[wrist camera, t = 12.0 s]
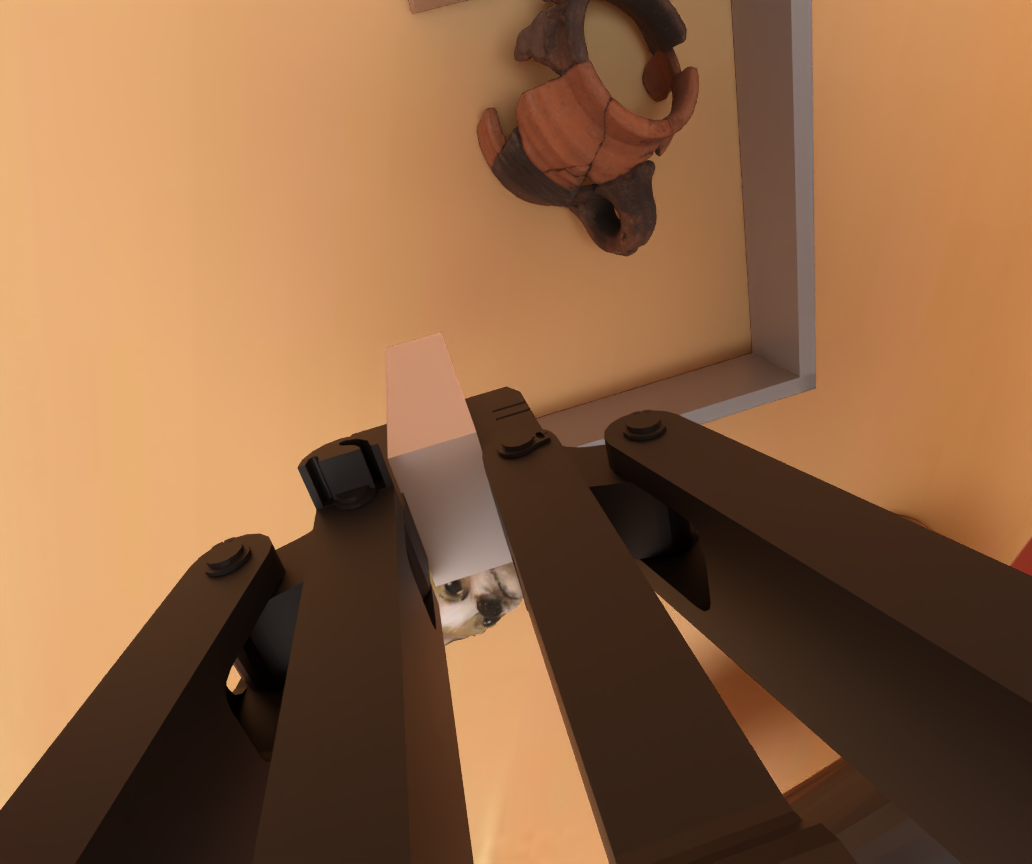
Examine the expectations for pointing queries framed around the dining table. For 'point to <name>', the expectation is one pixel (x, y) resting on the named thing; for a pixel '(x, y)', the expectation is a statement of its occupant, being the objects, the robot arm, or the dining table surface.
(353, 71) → the dining table surface
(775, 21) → the walled box
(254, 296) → the dining table surface
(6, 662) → the dining table surface
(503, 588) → the ceramic sculpture
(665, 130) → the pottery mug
